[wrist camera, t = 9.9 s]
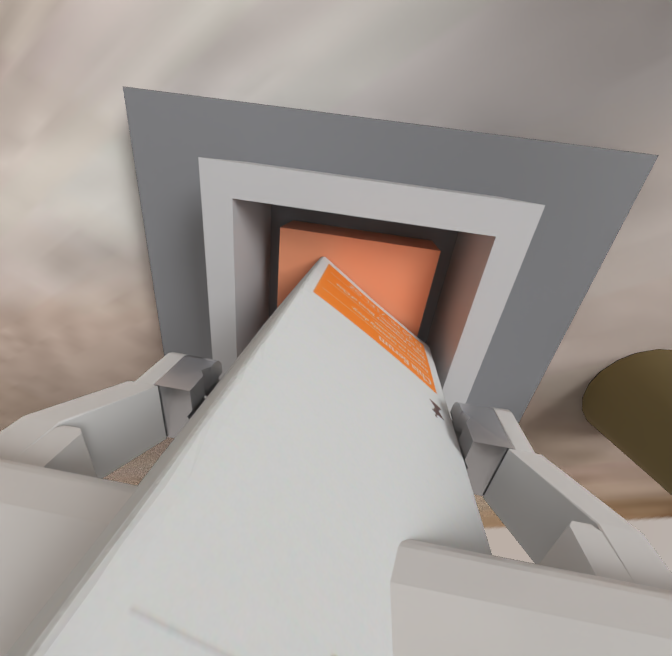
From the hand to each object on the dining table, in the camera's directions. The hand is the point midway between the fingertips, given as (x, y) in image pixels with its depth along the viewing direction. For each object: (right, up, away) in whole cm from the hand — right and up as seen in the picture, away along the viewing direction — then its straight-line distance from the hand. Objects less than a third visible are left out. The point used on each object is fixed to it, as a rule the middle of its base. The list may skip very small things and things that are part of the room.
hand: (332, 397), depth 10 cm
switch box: (+1, +4, +7) cm, 8 cm away
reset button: (+1, +3, +5) cm, 6 cm away
